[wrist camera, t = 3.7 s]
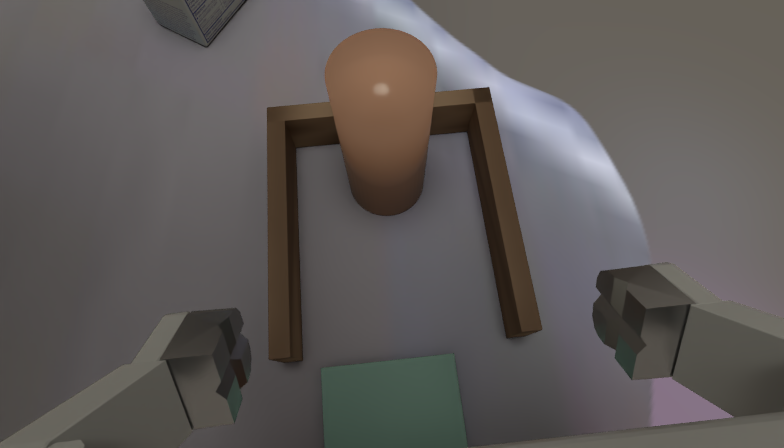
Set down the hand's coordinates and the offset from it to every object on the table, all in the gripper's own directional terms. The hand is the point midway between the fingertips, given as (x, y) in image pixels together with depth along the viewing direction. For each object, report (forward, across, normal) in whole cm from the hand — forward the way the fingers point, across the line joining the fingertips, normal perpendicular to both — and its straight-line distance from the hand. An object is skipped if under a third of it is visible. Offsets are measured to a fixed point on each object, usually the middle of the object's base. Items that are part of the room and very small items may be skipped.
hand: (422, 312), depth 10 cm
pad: (+6, +1, +14) cm, 15 cm away
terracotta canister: (+17, 0, +3) cm, 18 cm away
